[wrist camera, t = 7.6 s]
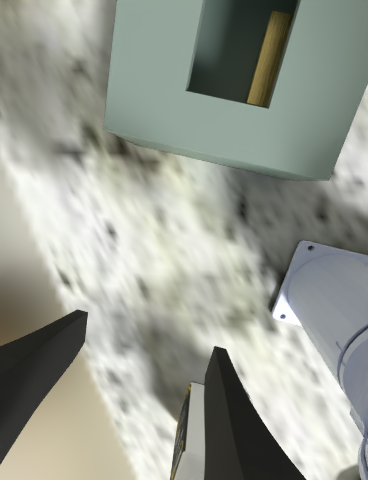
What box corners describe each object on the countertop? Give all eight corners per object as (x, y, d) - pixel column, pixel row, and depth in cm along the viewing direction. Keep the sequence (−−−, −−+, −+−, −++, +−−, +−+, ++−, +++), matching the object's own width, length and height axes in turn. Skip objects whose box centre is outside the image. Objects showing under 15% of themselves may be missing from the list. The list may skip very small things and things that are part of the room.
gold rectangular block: (263, 35, 16) (326, 48, 15) (241, 112, 17) (299, 126, 17) (272, 10, 13) (347, 25, 13) (246, 102, 15) (314, 117, 15)
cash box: (357, -19, 15) (465, -163, 8) (288, 180, 18) (329, 180, 12) (167, -55, 15) (139, -213, 9) (137, 145, 19) (103, 129, 13)
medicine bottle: (190, 379, 25) (173, 551, 13) (252, 396, 25) (290, 587, 13) (176, 424, 27) (153, 606, 15) (234, 440, 27) (253, 639, 15)
